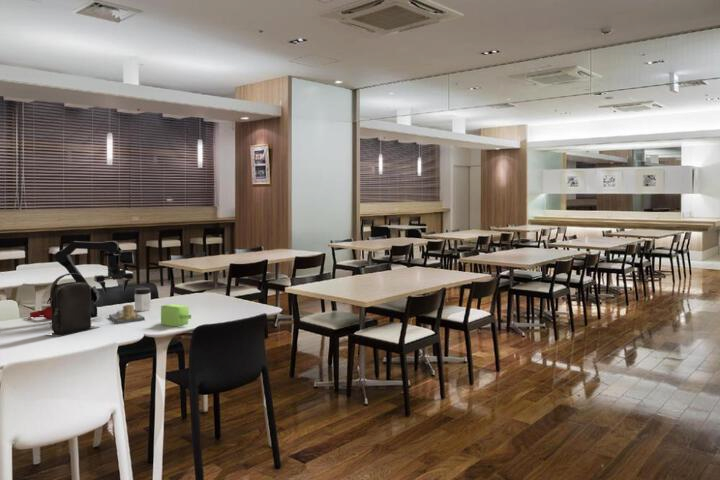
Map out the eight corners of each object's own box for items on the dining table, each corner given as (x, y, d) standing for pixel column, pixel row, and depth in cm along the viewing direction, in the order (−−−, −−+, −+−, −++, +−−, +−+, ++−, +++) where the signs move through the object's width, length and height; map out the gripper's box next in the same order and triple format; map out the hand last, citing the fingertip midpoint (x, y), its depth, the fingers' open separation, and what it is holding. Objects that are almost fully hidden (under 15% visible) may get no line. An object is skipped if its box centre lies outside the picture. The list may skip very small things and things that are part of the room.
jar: (138, 312, 318) (137, 290, 317) (132, 309, 324) (131, 288, 323) (154, 309, 324) (153, 288, 323) (147, 307, 330) (147, 286, 329)
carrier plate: (118, 323, 290) (117, 313, 289) (109, 317, 304) (108, 307, 304) (144, 320, 297) (144, 309, 297) (134, 314, 312) (134, 304, 311)
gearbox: (197, 325, 288) (197, 306, 288) (182, 328, 280) (182, 308, 279) (172, 320, 297) (172, 302, 297) (156, 323, 289) (157, 304, 288)
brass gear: (121, 320, 291) (121, 308, 290) (116, 317, 298) (116, 305, 298) (140, 317, 297) (139, 306, 296) (135, 314, 304) (134, 303, 303)
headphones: (74, 315, 310) (50, 317, 318) (72, 302, 309) (48, 304, 318) (49, 321, 296) (24, 322, 305) (47, 307, 296) (22, 309, 305)
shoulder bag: (89, 325, 287) (87, 269, 285) (100, 327, 282) (98, 270, 280) (44, 335, 268) (41, 275, 266) (55, 337, 263) (52, 277, 261)
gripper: (98, 267, 296) (99, 297, 298) (135, 264, 307) (136, 293, 309) (93, 265, 305) (94, 294, 306) (129, 262, 316) (131, 290, 318)
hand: (114, 293), depth 310 cm, fingers open, 9 cm apart
